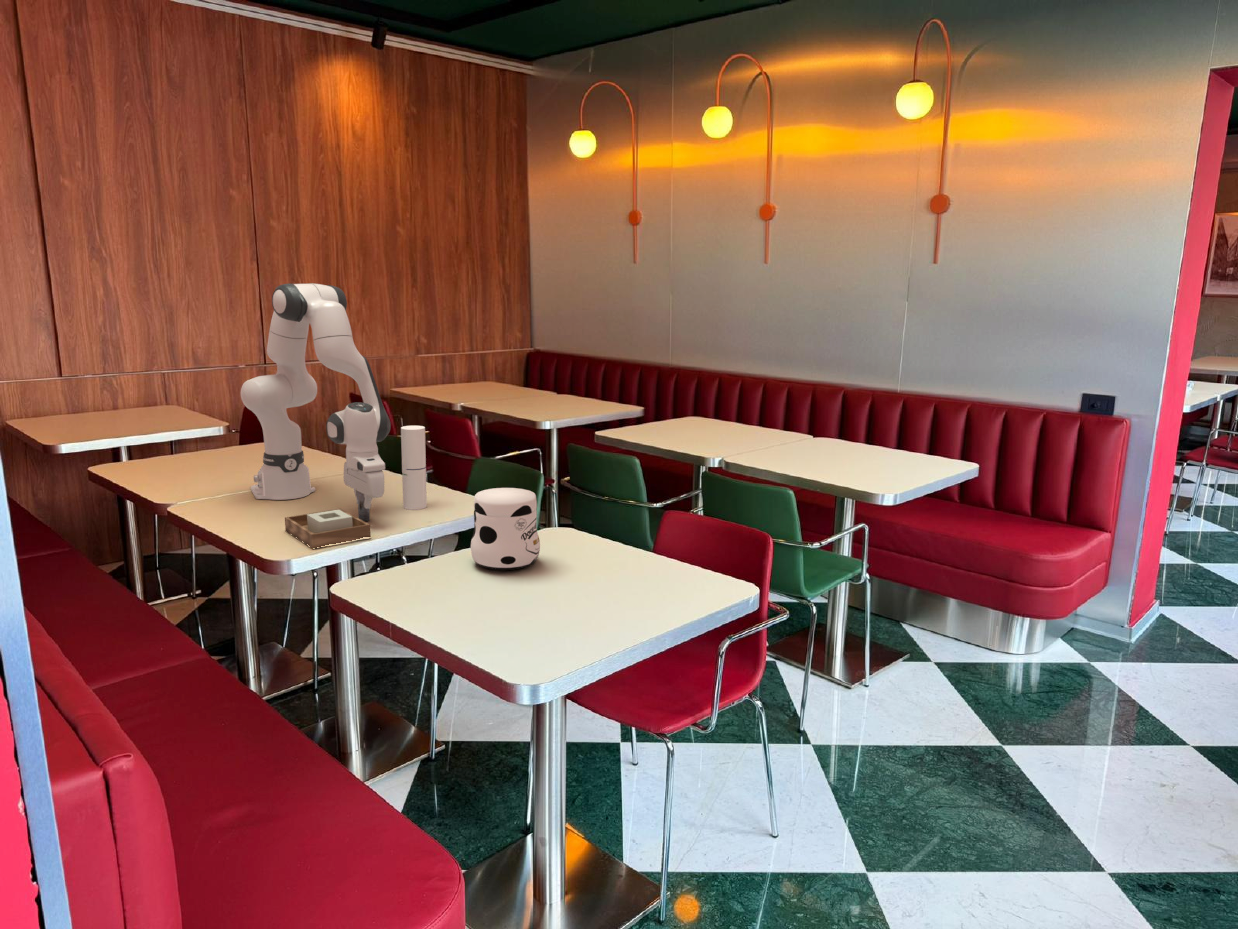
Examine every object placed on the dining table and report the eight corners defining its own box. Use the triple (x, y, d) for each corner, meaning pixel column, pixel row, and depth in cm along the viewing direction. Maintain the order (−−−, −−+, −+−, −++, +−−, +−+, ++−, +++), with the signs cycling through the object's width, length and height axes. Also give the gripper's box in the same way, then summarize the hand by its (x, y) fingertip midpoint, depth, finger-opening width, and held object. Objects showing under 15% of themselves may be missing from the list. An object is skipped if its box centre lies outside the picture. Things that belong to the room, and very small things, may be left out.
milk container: (550, 570, 216) (550, 500, 212) (483, 579, 208) (482, 507, 204) (525, 549, 231) (526, 484, 227) (462, 557, 223) (461, 490, 219)
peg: (356, 519, 253) (355, 482, 251) (367, 517, 255) (365, 481, 253) (361, 522, 251) (360, 485, 248) (371, 520, 253) (370, 483, 250)
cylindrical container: (420, 510, 265) (418, 430, 260) (399, 508, 267) (396, 428, 261) (430, 504, 272) (428, 426, 267) (409, 503, 273) (407, 424, 268)
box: (285, 531, 241) (284, 517, 240) (341, 521, 251) (340, 508, 250) (312, 549, 226) (312, 534, 225) (370, 538, 236) (370, 524, 236)
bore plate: (307, 532, 238) (306, 514, 236) (339, 526, 243) (338, 509, 242) (320, 540, 231) (319, 522, 230) (352, 534, 237) (352, 516, 235)
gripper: (337, 454, 255) (338, 499, 258) (366, 467, 239) (368, 515, 242) (357, 452, 259) (359, 496, 262) (387, 465, 243) (389, 512, 246)
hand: (363, 506), depth 252 cm, fingers closed on peg, 3 cm apart
